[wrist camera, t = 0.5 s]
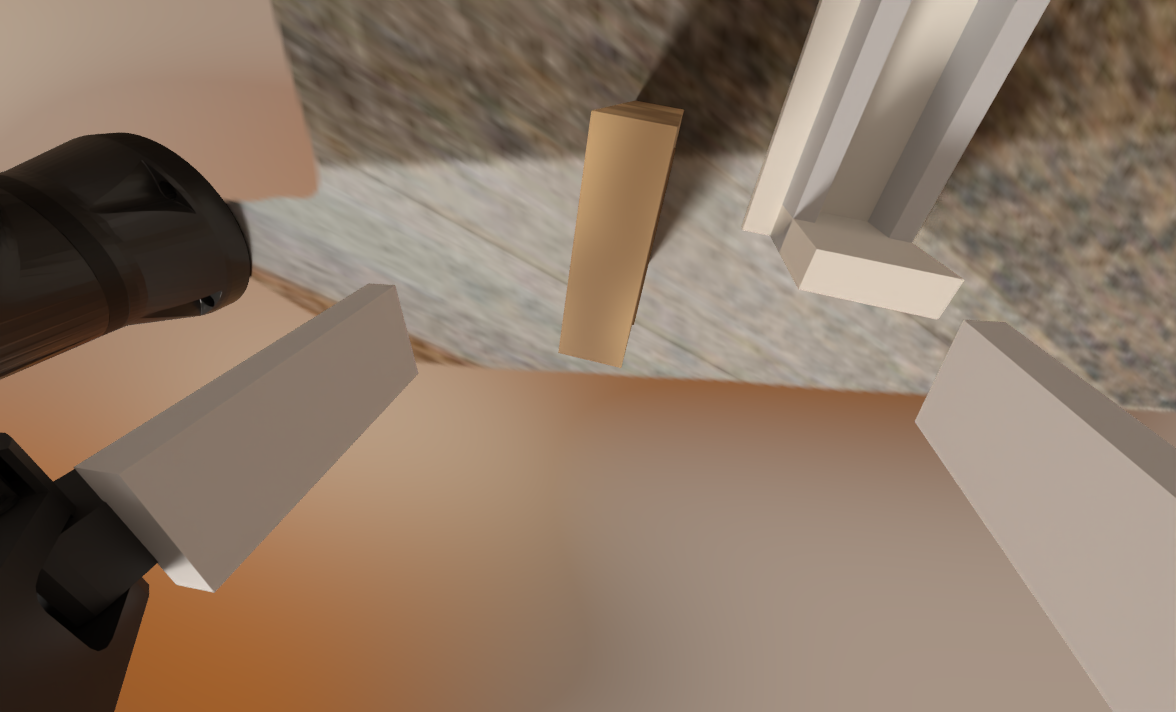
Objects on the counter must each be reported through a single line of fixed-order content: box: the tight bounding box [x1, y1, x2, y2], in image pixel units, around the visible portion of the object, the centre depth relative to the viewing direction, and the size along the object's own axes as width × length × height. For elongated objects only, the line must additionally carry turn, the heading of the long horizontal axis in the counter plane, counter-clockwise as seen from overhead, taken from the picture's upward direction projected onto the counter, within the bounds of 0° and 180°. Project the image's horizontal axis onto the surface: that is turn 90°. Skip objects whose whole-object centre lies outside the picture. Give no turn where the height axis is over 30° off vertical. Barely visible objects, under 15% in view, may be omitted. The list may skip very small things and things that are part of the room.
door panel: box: [558, 101, 684, 368], centre depth 23 cm, size 3×10×14 cm, turn 171°
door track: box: [741, 0, 1050, 319], centre depth 20 cm, size 10×18×10 cm, turn 171°
